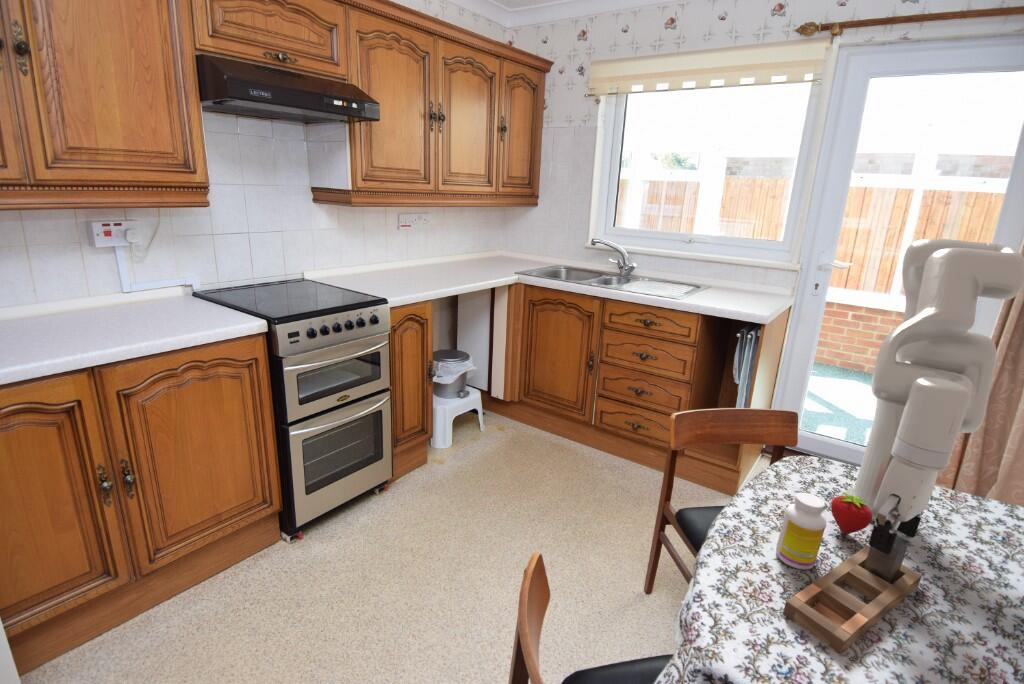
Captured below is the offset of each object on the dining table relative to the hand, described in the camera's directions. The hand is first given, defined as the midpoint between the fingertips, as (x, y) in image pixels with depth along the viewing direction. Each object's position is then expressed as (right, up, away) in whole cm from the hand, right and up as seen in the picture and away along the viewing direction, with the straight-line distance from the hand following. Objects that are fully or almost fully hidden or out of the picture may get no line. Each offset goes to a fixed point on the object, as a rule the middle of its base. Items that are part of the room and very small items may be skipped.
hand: (891, 541), depth 93 cm
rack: (-8, -9, -2) cm, 12 cm away
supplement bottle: (-13, -6, +8) cm, 16 cm away
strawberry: (+2, -5, +16) cm, 17 cm away
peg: (0, -8, +3) cm, 9 cm away
